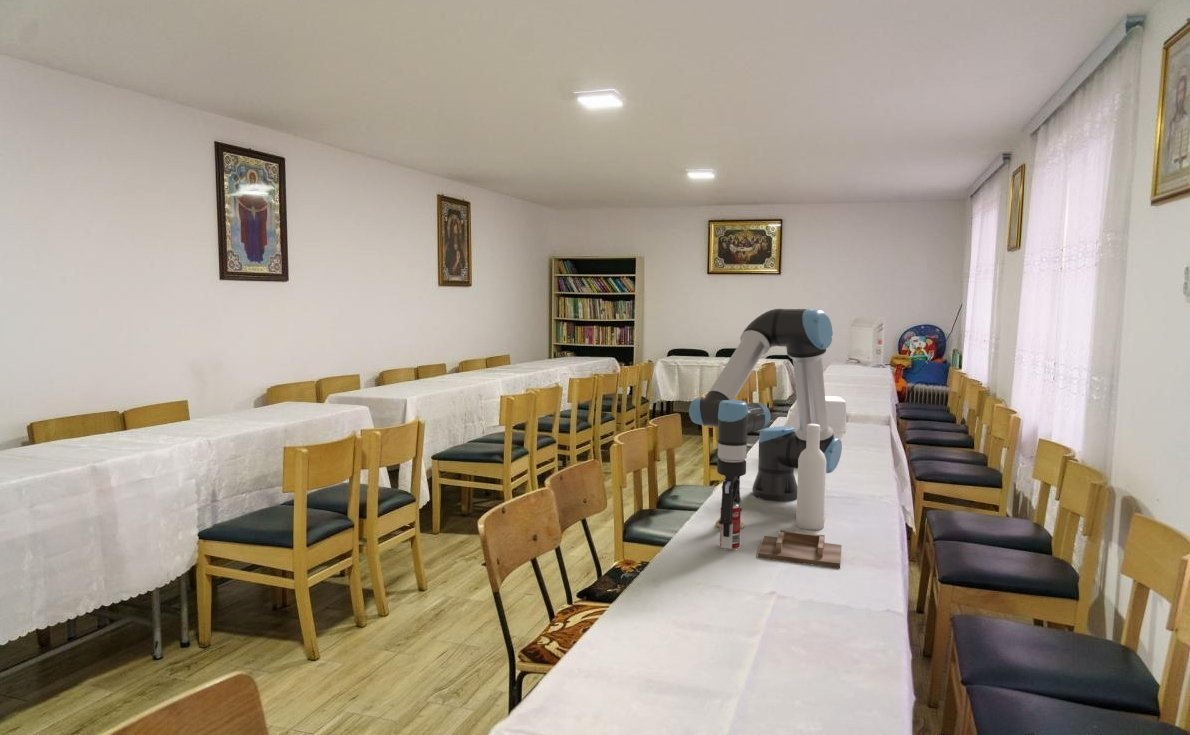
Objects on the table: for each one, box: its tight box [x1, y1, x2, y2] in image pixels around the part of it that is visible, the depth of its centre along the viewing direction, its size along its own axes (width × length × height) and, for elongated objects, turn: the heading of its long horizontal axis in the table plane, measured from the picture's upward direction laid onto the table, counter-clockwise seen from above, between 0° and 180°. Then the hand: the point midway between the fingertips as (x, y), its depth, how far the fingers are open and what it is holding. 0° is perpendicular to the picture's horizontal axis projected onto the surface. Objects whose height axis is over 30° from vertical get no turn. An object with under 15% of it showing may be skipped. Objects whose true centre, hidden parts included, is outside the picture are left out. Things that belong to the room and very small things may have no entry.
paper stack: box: [783, 395, 848, 441], centre depth 289 cm, size 21×27×26 cm
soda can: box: [719, 502, 742, 551], centre depth 187 cm, size 5×5×12 cm
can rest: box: [757, 529, 842, 569], centre depth 183 cm, size 14×20×4 cm
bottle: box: [795, 424, 827, 531], centre depth 204 cm, size 8×8×30 cm
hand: (729, 541), depth 187 cm, fingers open, 9 cm apart
